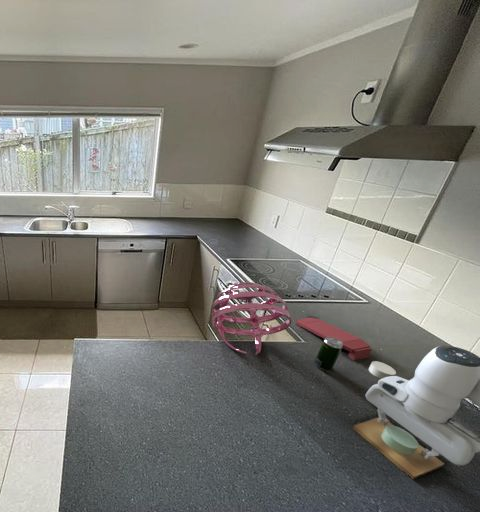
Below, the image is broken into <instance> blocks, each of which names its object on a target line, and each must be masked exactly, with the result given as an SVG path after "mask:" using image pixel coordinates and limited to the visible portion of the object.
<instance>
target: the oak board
mask: <svg viewBox="0 0 480 512" xmlns="http://www.w3.org/2000/svg"><path fill="white" fill-rule="evenodd" d="M378 419H379V416H378V417H376V418H373V419H370V420H366V421H364V422H361V423H357V424H354V425H353V427H352V429H353V430H354V431H355V432H356V433H357V434H359V435H360V436H361V437H362V438H363V439H364V440H365V441H367V442H368V443H369V444H370V445H371V446H372V447H374V448H375V449H376V450H377V451H378V452H379V453H380V454H382V455H383V456H384V457H385V458H387V459H388V460H389V461H390V462H391V463H392V464H394V465H395V466H396V467H397V468H398V469H400V470H401V472H403V471H404V472H405V473H406V474H405V473H404V472H403V473H404V474H405V475H407V476H408V475H409V476H410V477H411V478H412V479H411V478H410V477H409V476H408V477H409V478H410V479H411V480H415V479H417V478H419V476H420V477H421V475H422V476H424V475H427V474H429V473H431V472H433V470H434V471H435V470H439V469H440V468H443V467H444V466H445V462H443V461H441V459H439V458H438V457H437V456H432V457H431V458H430V459H427V460H426V459H425V458H424V457H423V456H421V455H420V453H421V451H422V450H424V449H425V448H424V446H422V445H421V444H419V447H418V448H417V450H416V451H415V452H414V454H413V455H410V456H408V455H403V454H401V453H398V452H397V451H395V450H393V449H392V448H390V447H389V446H388V445H387V444H386V443H385V442H384V441H383V439H382V437H381V434H382V432H383V430H384V429H385V427H386V426H388V425H393V426H395V425H394V424H393V423H391V422H390V421H389V422H388V424H387V425H384V426H383V425H381V424H380V423H379V422H377V421H378ZM428 472H429V473H428ZM426 473H427V474H426ZM414 478H415V479H414Z"/></svg>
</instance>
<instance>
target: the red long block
mask: <svg viewBox="0 0 480 512" xmlns="http://www.w3.org/2000/svg"><path fill="white" fill-rule="evenodd" d="M295 325H297V326H298V327H301V328H303V329H304V330H307V331H309V332H311V333H312V334H315V335H316V336H317V337H320V338H323V340H324V339H326V337H333V338H336V339H338V340H340V341H341V342H342V343H343V345H342V346H343V347H342V349H344V350H346V351H348V356H347V357H348V358H349V359H351V360H352V361H357V360H361V359H366V358H370V355H371V351H372V347H371V346H370V344H369V343H368V342H366V341H365V340H364V339H363V338H361V337H358V336H357V335H354V334H352V333H350V332H348V331H345V330H343V329H341V328H339V327H337V326H335V325H333V324H331V323H328V322H325V321H323V320H321V319H319V318H316V317H306V318H299V319H297V320H296V321H295Z"/></svg>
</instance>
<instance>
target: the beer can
mask: <svg viewBox="0 0 480 512" xmlns="http://www.w3.org/2000/svg"><path fill="white" fill-rule="evenodd" d="M342 345H343V343H342V342H341V341H340V340H338V339H336V338H333V337H326V339H324V338H323V341H322V344H321V345H320V349H319V350H318V353H317V355H316V357H315V359H314V365H315V367H316V368H318V369H319V370H321V371H323V372H330V371H332V370H333V368H334V366H335V365H336V362H337V360H338V358H339V356H340V353H341V351H342V349H343V348H342V347H343V346H342Z"/></svg>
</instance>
